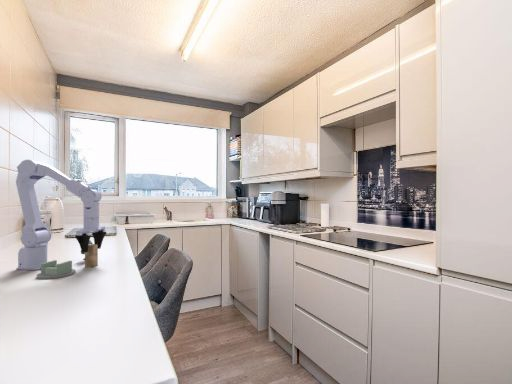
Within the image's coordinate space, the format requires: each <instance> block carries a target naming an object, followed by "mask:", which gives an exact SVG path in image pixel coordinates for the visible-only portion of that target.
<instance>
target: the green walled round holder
mask: <svg viewBox="0 0 512 384" xmlns="http://www.w3.org/2000/svg"><path fill="white" fill-rule="evenodd" d="M74 274H76V269H74V268H73V260H67V261H64V262H60V263H58V261H57V260H56V259H53V260H50V261H47V262H45V263H42V264H41V269H40V273H37V274H36V279H38V280H51V279H52V280H53V279H60V278H64V277H69V276H71V275H72V276H73V275H74Z"/></svg>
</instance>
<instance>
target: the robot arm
mask: <svg viewBox="0 0 512 384" xmlns="http://www.w3.org/2000/svg"><path fill="white" fill-rule="evenodd" d="M16 168H17V174H16V175H17V176H16V179H15V185H16V189H17V194H18V198H19V203H20V206H21V210H22V211H21V212H22V215H23V218H24V219H23V220H24V226H22V228H21V230H20V231H21V237H20V241H21V244H22V245H23V246H21V248H19V250H18V252H17V253H18V254H17V260H18V261H17V267H15V269H16V270H27V271H28V270H29V271H30V270H31V271H37V270H41V264H42V263H45V262H48V245H49V241H50V240H51V239H52V232H51V231H50V230H49V229H48V225H47V224H46V223H45V222H44V221H43V220H42V215H41V211H40V206H39V202H38V199H37V198H38V197H37V195H36V190H35V184H36V183H37V182H38V181H40V180H41V179H43V178H45V177H49V178H51V179H52V180H55V181H57V182H58V183H61V184H62V185H64V186H65V189H66V190H67V191H68V192H70V193H71V194H72V195H74V196H76V197H78V198H79V199H80V201H81V202H82V203H83V204H82V205H83V228H81V229H77V230H76V231H75V238H74V239H76V240H77V242H78V244H79V248H80V247H81V248H80V251H81V250H82V252H88V245H89V240H90V241H91V237H93V244H98V250H99V249H101V247H102V244H103V241H104V238H105V236H106V235H107V231H106V226H100V201H101V199H102V193H101V192H100V191H99V190H98V189H95V188H93V187H92V186H91V185H87V184H85V183H84V182H83V180H82V179H79V178H73V179H72V178H70V177H68V176H67V175H65V174H64V173H63V172H61V171H60V170H58V169H57V168H55V167H53V166H52V165H50V164H48V163H47V162H44V161H36V160H32V159H24V160H22V161H21V162H20V163H19V164H18V165H17V166H16ZM88 234H89V235H88ZM91 234H92V235H91Z"/></svg>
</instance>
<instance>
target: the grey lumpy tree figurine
mask: <svg viewBox="0 0 512 384" xmlns="http://www.w3.org/2000/svg"><path fill="white" fill-rule="evenodd" d="M89 244H94V242H92V240H91V239H90V240H89ZM79 248H80V254H81V255H85V252H82V250H81V247H80V246H79ZM82 260H83V261H85V257H84V258H83V259H82Z"/></svg>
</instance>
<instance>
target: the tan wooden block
mask: <svg viewBox="0 0 512 384" xmlns="http://www.w3.org/2000/svg"><path fill="white" fill-rule="evenodd" d="M98 252H99V249H98V244H94V243H93V244H89V245H88V252H85V254H84V258H85V260H84V267H87V268H94V267H95V268H96V267H97V266H98V265H99V264H98V263H99V262H98V261H99V259H98V257H99V256H98V255H99V253H98Z"/></svg>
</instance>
